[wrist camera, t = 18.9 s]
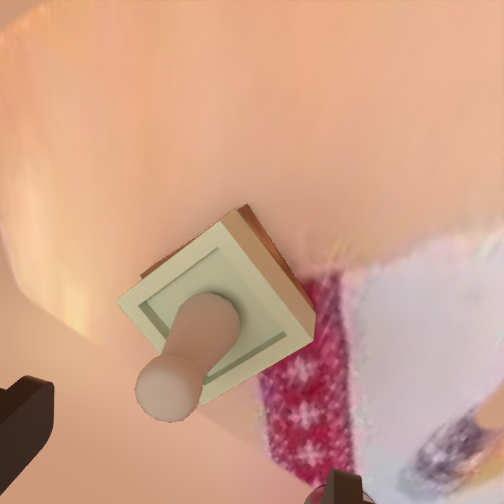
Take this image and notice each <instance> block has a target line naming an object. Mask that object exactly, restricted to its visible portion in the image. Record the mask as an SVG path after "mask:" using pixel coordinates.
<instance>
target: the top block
mask: <svg viewBox="0 0 504 504" xmlns="http://www.w3.org/2000/svg"><path fill="white" fill-rule="evenodd" d="M208 292H212V293H215V294H217V295H220V296H222V297H225V298H227V299H230V300H231V303H232V305H233V307H234V308H235V310H236V312H237V313H238V315H239V320H240V327H241V330H240V334H239V336H238V339H237V342H236V344H235V345H234V346H233V347H232V348H231V349H230V350H229V351H228V352H227V354H226V355H225V356H224V357H223V358H222V359H221V360H220V361H219V362H218V363H217V364H216V365H215V366H214V367H213V368H212V369H211V370H210V371H209V373H208V374H207V375H206V376H205V377H204V378H203V379H202V385H203V391H202V394H201V396H200V399H199V402H200V404H201V405H202V406H203V405H204V404H206V403H208V402H210V401H211V400H213V399H215V398H216V397H218V396H220V395H222V394H223V393H225V392H227V391H228V390H230V389H232V388H234V387H235V386H237V385H239V384H240V383H242V382H244V381H246V380H247V379H249V378H251V377H252V376H254V375H256V374H258V373H259V372H261V371H263V370H264V369H266V368H268V367H270V366H271V365H273V364H275V363H276V362H278V361H280V360H282V359H283V358H285V357H287V356H288V355H290V354H292V353H294V352H295V351H297V350H299V349H300V348H302V347H304V346H306V345H307V344H309V343H311V342H312V341H313V339H314V328H315V318H316V313H315V312H314V311H313V309H312V308H311V307H310V305H309V304H308V303H307V301H306V300H305V299H304V297H303V296H302V295H301V294H300V292H299V291H298V290H297V288H296V287H295V286H294V284H293V283H292V282H291V281H290V279H289V278H288V277H287V275H286V274H285V273H284V271H283V270H282V269H281V267H280V266H279V265H278V264H277V262H276V261H275V260H274V258H273V257H272V256H271V254H270V253H269V252H268V250H267V249H266V248H265V247H264V245H263V244H262V243H261V241H260V240H259V239H258V237H257V236H256V235H255V234H254V232H253V231H252V230H251V228H250V227H249V226H248V224H247V223H246V222H245V220H244V219H243V218H242V217H241V215H240V214H239V213H238V211H237V210H236V209H234V210H232V211H231V212H230V213H228V214H227V215H226V216H224V217H223V218H222V219H221V220H219V221H218V222H217V223H215V224H214V225H213V226H211V227H210V228H209V229H207V230H206V231H205V232H204V233H202V234H201V235H200V236H198V237H197V238H196V239H194V240H193V241H192V242H191V243H189V244H188V245H187V246H185V247H184V248H183V249H181V250H180V251H179V252H177V253H176V254H175V255H174V256H172V257H171V258H170V259H168V260H167V261H166V262H164V263H163V264H162V265H161V266H159V267H158V268H157V269H155V270H154V271H153V272H151V273H150V274H149V275H147V276H146V277H145V278H144V279H142V280H141V281H140V282H138V283H137V284H136V285H135V286H133V287H132V288H131V289H130V290H128V291H127V292H126V293H125V294H123V295H122V296H121V297H120V298H118V299H117V300H116V301H115V302H116V303H117V305H118V306H119V307H120V308H121V309H122V311H123V312H124V313H125V314H126V315H127V317H128V318H129V319H130V320H131V321H132V322H133V324H134V325H135V326H136V327H137V328H138V330H139V331H140V332H141V333H142V334H143V336H144V337H145V338H146V339H147V340H148V342H149V343H150V344H151V345H152V346H153V348H154V349H155V350H156V351H157V352H158V354H159V355H161V353H162V350H163V347H164V345H165V342H166V340H167V337H168V334H169V332H170V329H171V327H172V324H173V321H174V319H175V316H176V314H177V311H178V308H179V307H180V306H181V305H182V304H183V303H184V302H185V301H186V300H187V299H188V298H190V297H191V296H194V295H198V294H201V293H208Z"/></svg>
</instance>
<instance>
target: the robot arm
mask: <svg viewBox="0 0 504 504" xmlns="http://www.w3.org/2000/svg"><path fill="white" fill-rule="evenodd" d="M53 423H54V385H53V383H52V382H49V381H45V380H42V379H38V378H35V377H32V376H28V375H27V376H23V377H22V378H20V379H19V380H18V381H17V382H15V383H14V384H13V385H12V386H11V387H9V388H8V389H7V390H5V389H2V388H0V495H1V494H2V493H3V492H4V491H5V490H6V489H7V487H8V486H9V485H10V484H11V483H12V482H13V481H14V480H15V478H16V477H17V476H18V475H19V474H20V473H21V472H22V471H23V470H24V468H25V467H26V466H27V465H28V464H29V463H30V462H31V461H32V459H33V458H34V457H35V456H36V455H37V454H38V452H39V451H40V450H41V449H42V448H43V447H44V445H45V444H46V442H47V441H48V439H49V437H50V435H51V432H52V429H53ZM304 504H375V503H374V502H373V501H372V500H371V499H370V498H369V497H368V496H367V495H366V494H364V493H363V488H362V479H361V476H360V475H356V474H353V473H350V472H346V471H343V470H340V469H336V468H333V467H332V468H331V470H330V473H329V476H328V479H327V482H326V485H325V486H322V487H320V488H318V489H316V490H314V491H313V492H312V493H311V494H310V495H309V496H308V497H307V499H306V501H305V503H304Z"/></svg>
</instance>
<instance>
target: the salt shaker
mask: <svg viewBox="0 0 504 504" xmlns="http://www.w3.org/2000/svg"><path fill="white" fill-rule="evenodd" d="M240 330H241V327H240V320H239V315H238V313H237V312H236V310H235V308H234V307H233V305H232V303H231V300H230V299H227V298H225V297H222V296H220V295H217V294H215V293H212V292H208V293H201V294H198V295H194V296H191V297H190V298H188V299H187V300H186V301H185V302H184V303H183V304H182V305H181V306H180V307H179V308H178V311H177V314H176V316H175V319H174V321H173V324H172V327H171V329H170V332H169V334H168V337H167V340H166V342H165V345H164V347H163V350H162V353H161V355H160V356H159V357H156V358H154V359H153V360H152V361H150V362H149V363H148V364H147V365H146V366H145V367H144V368H143V369H142V370H141V371H140V374H139V376H138V378H137V382H136V386H135V394H136V399H137V402H138V403H139V405H140V406H141V408H142V409H143V410H144V412H145V413H147V414H148V415H150V416H151V417H153V418H154V419H156V420H159V421H164V422H168V423H172V422H178V421H183V420H184V419H185V418H186V417H188V416H189V415H190V414H191V413H192V412H193V411H194V410H195V408H196V407H197V404H198V402H199V399H200V396H201V394H202V391H203V385H202V379H203V378H204V377H205V376H206V375H207V374H208V373H209V371H210V370H211V369H212V368H213V367H214V366H215V365H216V364H217V363H218V362H219V361H220V360H221V359H222V358H223V357H224V356H225V355H226V354H227V352H228V351H229V350H230V349H231V348H232V347H233V346H234V345H235V344H236V342H237V339H238V336H239V334H240Z"/></svg>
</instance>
